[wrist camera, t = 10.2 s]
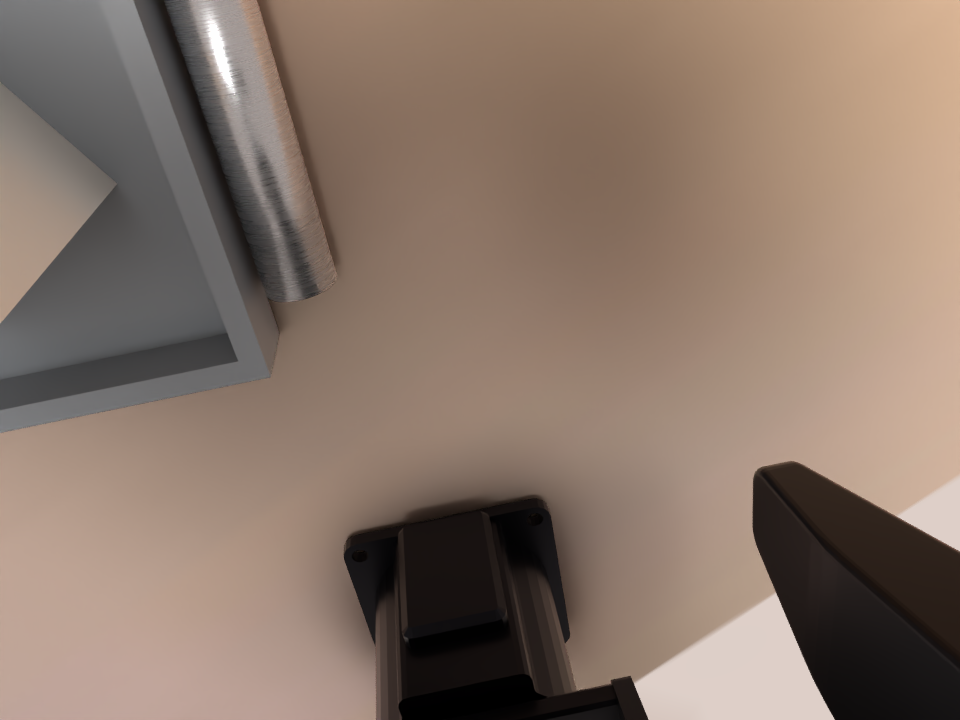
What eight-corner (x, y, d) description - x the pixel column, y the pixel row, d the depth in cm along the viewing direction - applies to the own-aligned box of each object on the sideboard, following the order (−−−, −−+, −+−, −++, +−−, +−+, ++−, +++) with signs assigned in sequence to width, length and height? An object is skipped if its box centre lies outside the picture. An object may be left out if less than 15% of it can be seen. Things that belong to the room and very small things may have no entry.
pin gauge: (253, 289, 20) (315, 261, 21) (286, 309, 19) (350, 278, 20) (85, -185, 15) (175, -196, 16) (114, -202, 14) (212, -213, 15)
